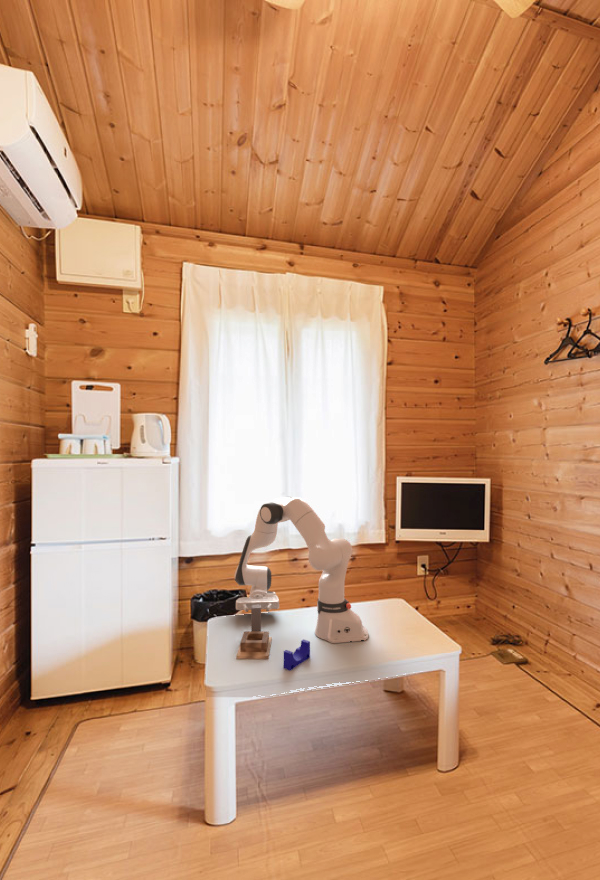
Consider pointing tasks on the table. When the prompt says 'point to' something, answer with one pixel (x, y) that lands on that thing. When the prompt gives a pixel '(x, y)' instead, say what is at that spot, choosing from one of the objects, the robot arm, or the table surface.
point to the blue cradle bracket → (297, 655)
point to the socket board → (254, 654)
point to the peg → (256, 618)
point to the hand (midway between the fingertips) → (257, 609)
